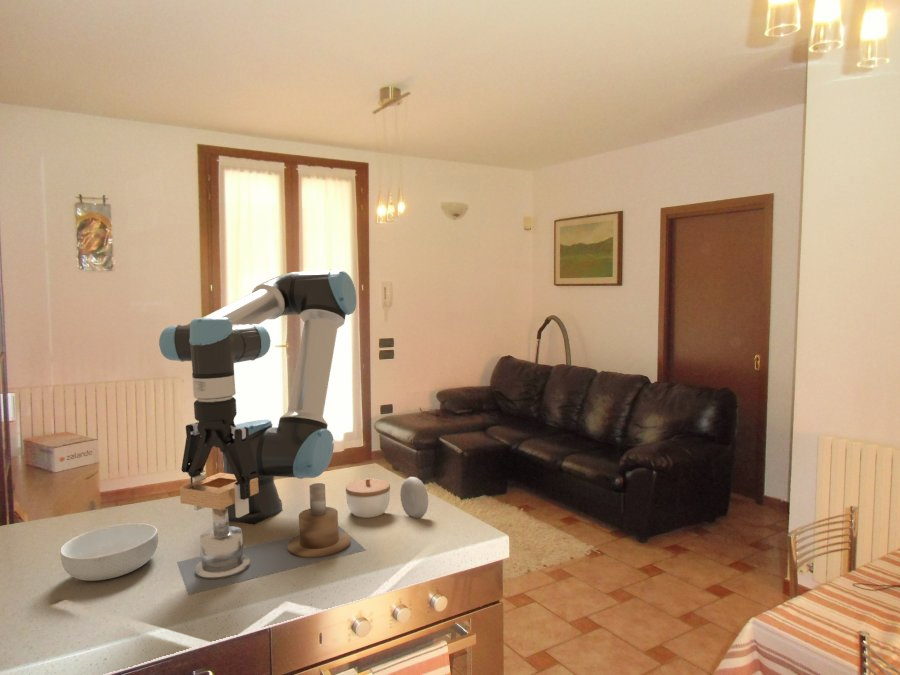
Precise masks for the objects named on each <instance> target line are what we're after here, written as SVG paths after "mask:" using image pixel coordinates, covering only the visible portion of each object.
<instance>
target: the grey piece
mask: <svg viewBox="0 0 900 675" xmlns="http://www.w3.org/2000/svg"><path fill="white" fill-rule="evenodd" d="M399 494H400V502H401V506H402V508H403V511H404V513H405V514H406V515H407V516H408V517H409V518H415V519H421V518H423V517H424V516H425V514H426V513H427V511H428V509H429V495H428V490H427V488H426V486H425V483H423V481H422V480H421V479H419V478H418V477H417V476H416V477H415V476H409V477H407V478H405V479H404V481H403V482H402V483H401V487H400V492H399Z"/></svg>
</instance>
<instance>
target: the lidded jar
mask: <svg viewBox="0 0 900 675" xmlns="http://www.w3.org/2000/svg"><path fill="white" fill-rule="evenodd" d="M390 490H391V484H390V481H389V482H388V480H387V481H386V480H384V479H378V478H370V477H369V478H368V477H367V478H365V479H358V480H354V481H353V482H350V483H348V484H347V485H345V494H346V496H345V497H346V503H347V507H348V510H349V511H350V513H351V514H352V515H353V516H355V517H357V518H365V519H366V518H367V519H368V518H375V517H378V516H381V515H383V514H384V513H385V512H386V511H387V509H388V507H389V504H390V497H391V495H390V493H391V491H390Z"/></svg>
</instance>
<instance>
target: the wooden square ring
mask: <svg viewBox="0 0 900 675" xmlns="http://www.w3.org/2000/svg"><path fill="white" fill-rule="evenodd" d="M236 482H237V480H236V477H235V475H234V474H227V473H224V472H217V473H215V474H213V475H210V476H206V478H204V479H202V480H199V481H196V482H194V483H191V482H190V483H188V484H186V485H183V486H180V487H179V493H180V494H179V497H180V498H179V499H180V504H184V505H190V506H194V505H195V506H201V507H204V508H207V509H219V510H221V509H223V508H225V507H228V506H230V505H232V504H234V503H235V492H234V483H236ZM257 493H259V488H258V478H254V479H252V480H250V496H252V495H254V494H257Z"/></svg>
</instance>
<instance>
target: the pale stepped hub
mask: <svg viewBox="0 0 900 675" xmlns="http://www.w3.org/2000/svg"><path fill="white" fill-rule="evenodd" d="M211 510H212V527H213V528H211V529H209V530H206V531H204V532H202V534H200V536H199V539H200V557H201V562H199V563H198V564H197V565H196V567H195V574H196V576H197V577H199V578H202V579H208V580H216V579H224V578H228V577H232V576H235V575H238V574H240V573H242V572H244V571H245V570H246V569H247V568H248V567H249V566H250V558H249V557H248V556H247V555H245V554H243V547H244V546H243V541H244V540H243V530H242V528H241V527H239V526H233V525H232V526H231V525H230V524H229V523H230V522H229V520H228V507H225V508H223V509H221V510H219V509H213V508H211Z"/></svg>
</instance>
